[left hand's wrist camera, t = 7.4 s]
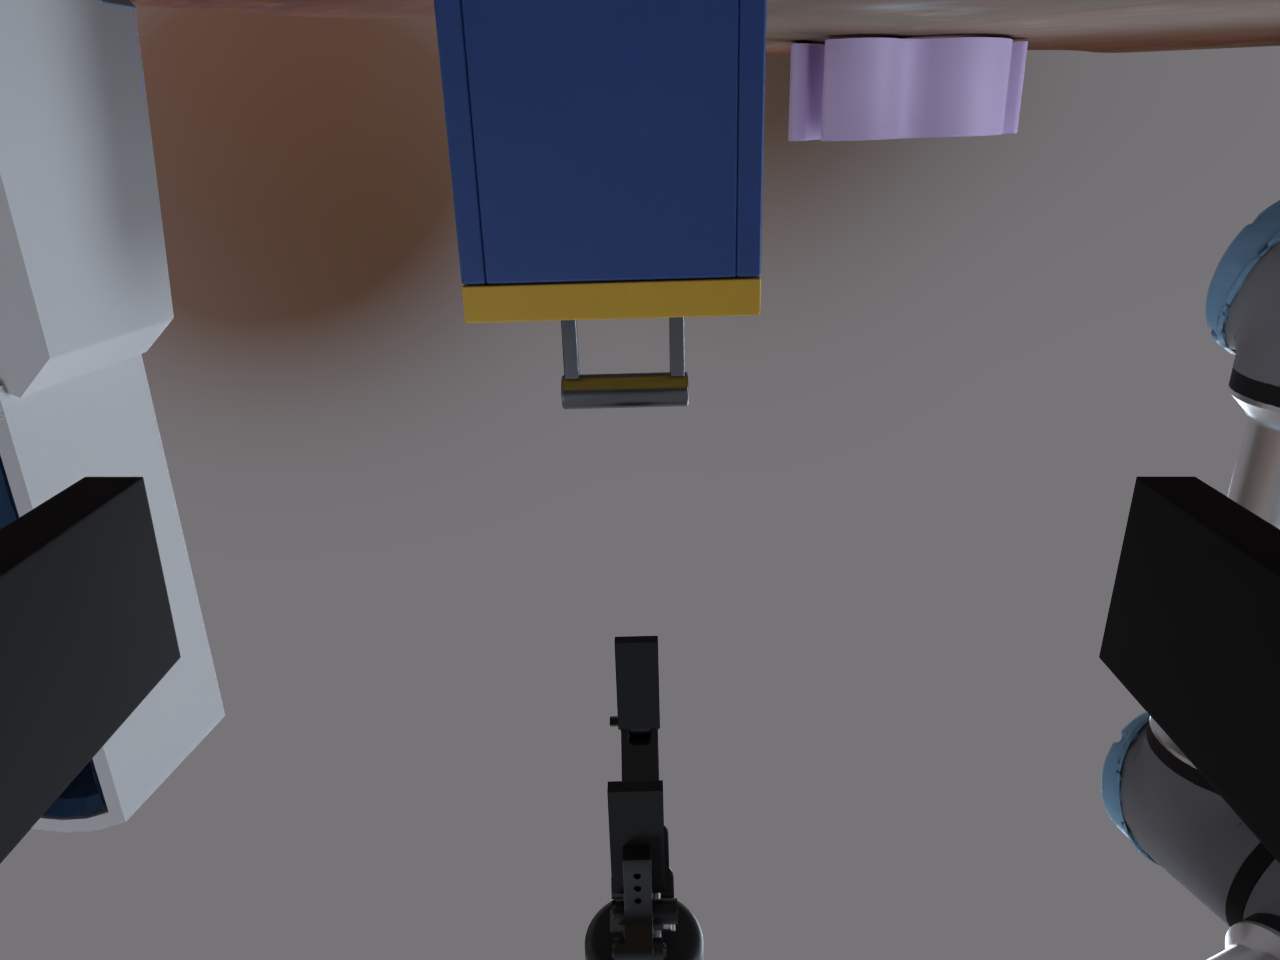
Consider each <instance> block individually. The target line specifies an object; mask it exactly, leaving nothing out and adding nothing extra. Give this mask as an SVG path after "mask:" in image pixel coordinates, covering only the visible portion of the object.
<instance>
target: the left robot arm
mask: <svg viewBox="0 0 1280 960" xmlns="http://www.w3.org/2000/svg"><path fill="white" fill-rule="evenodd" d="M1099 657H1100V659H1101V660H1102V661H1103V662H1104V663H1105V664H1106V666H1107V667H1108V668H1109V669H1110V670H1111V671H1112V672H1113V674H1114V675H1115V676H1116V677H1117V678H1118V679H1119V680H1120V682H1121V683H1122V684H1123V685H1124V686H1125V687H1126V688H1127V689H1128V691H1129V692H1130V693H1131V694H1132V695H1133V696H1134V698H1135V699H1136V700H1137V701H1138V702H1139V703H1140V704H1141V706H1142V707H1143V708H1144V709H1145V710H1146V711H1147V712H1148V714H1149V715H1150V716H1151V717H1152V718H1153V719H1154V720H1155V722H1156V723H1157V724H1158V725H1159V726H1160V727H1161V728H1162V730H1163V731H1164V732H1165V733H1166V734H1167V735H1168V736H1169V738H1170V739H1171V740H1172V741H1173V742H1174V743H1175V744H1176V746H1177V747H1178V748H1179V749H1180V750H1181V751H1182V752H1183V754H1184V755H1185V756H1186V757H1187V758H1188V759H1189V760H1190V762H1191V763H1192V764H1193V765H1194V766H1195V767H1196V768H1197V770H1198V771H1199V772H1200V773H1201V774H1202V775H1203V776H1204V778H1205V779H1206V780H1207V781H1208V782H1209V783H1210V784H1211V786H1212V787H1213V788H1214V789H1215V790H1216V791H1217V792H1218V794H1219V795H1220V796H1221V797H1222V798H1223V799H1224V800H1225V802H1226V803H1227V804H1228V805H1229V806H1230V807H1231V808H1232V810H1233V811H1234V812H1235V813H1236V814H1237V815H1238V816H1239V818H1240V819H1241V820H1242V821H1243V822H1244V823H1245V824H1246V826H1247V827H1248V828H1249V829H1250V830H1251V831H1252V832H1253V834H1254V835H1255V836H1256V837H1257V838H1258V839H1259V840H1260V842H1261V843H1262V844H1263V845H1264V846H1265V847H1266V848H1267V850H1268V851H1269V852H1270V853H1271V854H1272V855H1273V856H1274V858H1275V859H1276V860H1277V861H1278V862H1279V863H1280V529H1278V528H1277V527H1275V526H1273V525H1272V524H1270V523H1269V522H1267V521H1265V520H1264V519H1262V518H1260V517H1259V516H1257V515H1256V514H1254V513H1252V512H1251V511H1249V510H1248V509H1246V508H1244V507H1243V506H1241V505H1240V504H1238V503H1236V502H1235V501H1233V500H1231V499H1230V498H1228V497H1227V496H1225V495H1223V494H1222V493H1220V492H1219V491H1217V490H1215V489H1214V488H1212V487H1210V486H1209V485H1207V484H1206V483H1204V482H1202V481H1201V480H1199V479H1198V478H1196V477H1137V478H1136V483H1135V488H1134V493H1133V498H1132V503H1131V507H1130V512H1129V517H1128V522H1127V527H1126V531H1125V536H1124V541H1123V546H1122V551H1121V555H1120V560H1119V565H1118V570H1117V574H1116V579H1115V584H1114V589H1113V593H1112V598H1111V603H1110V608H1109V613H1108V618H1107V623H1106V627H1105V632H1104V637H1103V641H1102V646H1101V651H1100V656H1099ZM180 658H181V656H180V651H179V646H178V641H177V637H176V632H175V627H174V622H173V617H172V613H171V608H170V603H169V598H168V593H167V589H166V584H165V579H164V574H163V570H162V565H161V560H160V555H159V550H158V546H157V541H156V536H155V531H154V526H153V522H152V517H151V512H150V507H149V502H148V498H147V493H146V488H145V483H144V478H143V477H84V478H82V479H81V480H79V481H78V482H76V483H74V484H73V485H71V486H69V487H68V488H66V489H65V490H63V491H61V492H60V493H58V494H57V495H55V496H53V497H52V498H50V499H49V500H47V501H45V502H44V503H42V504H40V505H39V506H37V507H36V508H34V509H32V510H31V511H29V512H28V513H26V514H24V515H23V516H21V517H20V518H18V519H16V520H15V521H13V522H11V523H10V524H8V525H7V526H5V527H3V528H2V529H0V863H1V862H2V861H3V860H4V859H5V858H6V856H7V855H8V854H9V853H10V852H11V851H12V850H13V848H14V847H15V846H16V845H17V844H18V843H19V842H20V840H21V839H22V838H23V837H24V836H25V835H26V833H27V832H28V831H29V830H30V829H31V828H32V827H33V826H34V824H35V823H36V822H37V821H38V820H39V819H40V818H41V816H42V815H43V814H44V813H45V812H46V811H47V810H48V808H49V807H50V806H51V805H52V804H53V803H54V802H55V800H56V799H57V798H58V797H59V796H60V795H61V794H62V792H63V791H64V790H65V789H66V788H67V787H68V786H69V784H70V783H71V782H72V781H73V780H74V779H75V778H76V776H77V775H78V774H79V773H80V772H81V771H82V770H83V768H84V767H85V766H86V765H87V764H88V763H89V762H90V760H91V759H92V758H93V757H94V756H95V755H96V754H97V752H98V751H99V750H100V749H101V748H102V747H103V746H104V744H105V743H106V742H107V741H108V740H109V739H110V738H111V736H112V735H113V734H114V733H115V732H116V731H117V730H118V728H119V727H120V726H121V725H122V724H123V723H124V722H125V720H126V719H127V718H128V717H129V716H130V715H131V714H132V712H133V711H134V710H135V709H136V708H137V707H138V706H139V704H140V703H141V702H142V701H143V700H144V699H145V698H146V696H147V695H148V694H149V693H150V692H151V691H152V690H153V688H154V687H155V686H156V685H157V684H158V683H159V682H160V680H161V679H162V678H163V677H164V676H165V675H166V674H167V672H168V671H169V670H170V669H171V668H172V667H173V666H174V664H175V663H176V662H177V661H178V660H179V659H180Z"/></svg>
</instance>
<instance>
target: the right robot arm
mask: <svg viewBox="0 0 1280 960" xmlns="http://www.w3.org/2000/svg"><path fill="white" fill-rule="evenodd" d="M1206 321H1207V325H1208V326H1209V327H1210V328H1212V329H1213V330H1212V332H1211V334H1212V337H1213V338H1214V340H1215V341H1216V342H1217V343H1218V344H1219V345H1220V346H1222V347H1223V348H1225V349H1226V350H1227V351H1228V352H1229V353H1232V354H1235V355H1236V356H1235V360H1234V364H1233V369H1232V374H1231V378H1230V382H1229V386H1228V390H1229V392H1230V393H1231V395H1232V396H1233V397H1234V398H1235V400H1236V401H1237V402H1238V403H1239V404H1240V406H1241V407H1242V408H1243V409H1244V411H1245V413H1246V415H1247V419H1246V423H1245V427H1244V431H1243V435H1242V439H1241V443H1240V447H1239V451H1238V455H1237V459H1236V463H1235V467H1234V471H1233V475H1232V479H1231V483H1230V487H1229V491H1228V495H1227V497H1228V498H1230V499H1231V500H1233V501H1235V502H1236V503H1238V504H1240V505H1241V506H1243V507H1244V508H1246V509H1248V510H1249V511H1251V512H1252V513H1254V514H1256V515H1257V516H1259V517H1260V518H1262V519H1264V520H1265V521H1267V522H1269V523H1270V524H1272V525H1273V526H1275V527H1277V528H1278V529H1280V201H1278V202H1276V203H1274V204H1272V205H1271V206H1269V207H1268V208H1267V209H1265V210H1264V211H1263V212H1262V213H1260V214H1259V215H1258V216H1257V218H1256V219H1255V220H1254V222H1253V223H1252V224H1249V225H1247V226H1246V227H1244V228H1243V229H1242V231H1241V232H1240V233H1239V234H1238V235H1237V236H1236V238H1235V239H1234V240H1233V242H1232V243H1231V244H1230V246H1229V247H1228V249H1227V250H1226V252H1225V253H1224V255H1223V257H1222V258H1221V260H1220V262H1219V264H1218V266H1217V268H1216V270H1215V273H1214V275H1213V277H1212V280H1211V283H1210V286H1209V290H1208V294H1207V300H1206ZM615 661H616V684H617V707H618V716H611V717H610V726H618V729H620V730H621V744H622V781H617V782H608V811H609V831H610V851H611V871H612V877H611V883H612V899H615V900H613V901H611V902H610V903H608V904H607V905H605V906H604V907H603V908H602V909H601V910H600V911H599V912H598V913H597V914H596V915H595V917H594V918H593V920H592V921H591V923H590V925H589V927H588V930H587V933H586V938H585V958H586V960H703V935H702V931H701V928H700V925H699V923H698V921H697V919H696V918H695V916H694V915H693V914H692V912H691V911H690V910H689V909H688V908H687V907H686V906H684V905H683V904H682V903H680V902H679V901H677V898H674V882H673V872H672V870H671V868H670V867H669V846H668V830H667V828H666V826H664V819H663V781H659V761H658V729H659V728H660V715H659V673H658V636H634V637H615ZM1121 733H1122V739H1121V740H1120V741H1119V742H1113V744H1112V746H1111V747H1110V749H1109V751H1108V754H1107V756H1106V759H1105V762H1104V766H1103V770H1102V777H1101V792H1102V798H1103V802H1104V806H1105V808H1106V811H1107V813H1108V815H1109V816H1110V818H1111V820H1112V821H1113V822H1114V824H1115V825H1116V826H1117V827H1118V828H1119V829H1120V830H1121V831H1122V832H1123V833H1124V834H1125V835H1126V836H1127V837H1128V838H1129V839H1130V841H1131V842H1132V843H1133V845H1134V846H1135V847H1136V849H1137V850H1138V851H1140V852H1141V853H1142V854H1143V855H1144V856H1145V857H1146V858H1148V859H1149V860H1151V861H1153V862H1154V863H1156V864H1158V865H1160V866H1162V867H1163V868H1164V869H1165V870H1166V871H1167V872H1168V873H1169V874H1171V875H1172V876H1173V877H1174V878H1175V879H1176V880H1177V881H1179V882H1180V883H1181V884H1182V885H1183V886H1184V887H1185V888H1186V889H1188V890H1189V891H1190V892H1191V893H1192V894H1193V895H1194V896H1195V897H1197V898H1198V899H1199V900H1200V901H1201V902H1202V903H1203V904H1205V905H1206V906H1207V907H1208V908H1209V909H1210V910H1211V911H1212V912H1214V913H1215V914H1216V915H1217V916H1218V917H1219V918H1220V919H1221V920H1222V921H1223V922H1225V923H1226V924H1227V925H1228V926H1229V927H1230V928H1229V930H1228V931H1227V934H1226V938H1225V950H1224V951H1222V952H1221V953H1219V954H1217V955H1215V956H1213V957H1211V958H1209V959H1207V960H1280V863H1279V862H1278V861H1277V860H1276V859H1275V858H1274V856H1273V855H1272V854H1271V853H1270V852H1269V851H1268V850H1267V848H1266V847H1265V846H1264V845H1263V844H1262V843H1261V842H1260V840H1259V839H1258V838H1257V837H1256V836H1255V835H1254V834H1253V832H1252V831H1251V830H1250V829H1249V828H1248V827H1247V826H1246V824H1245V823H1244V822H1243V821H1242V820H1241V819H1240V818H1239V816H1238V815H1237V814H1236V813H1235V812H1234V811H1233V810H1232V808H1231V807H1230V806H1229V805H1228V804H1227V803H1226V802H1225V800H1224V799H1223V798H1222V797H1221V796H1220V795H1219V794H1218V792H1217V791H1216V790H1215V789H1214V788H1213V787H1212V786H1211V784H1210V783H1209V782H1208V781H1207V780H1206V779H1205V778H1204V776H1203V775H1202V774H1201V773H1200V772H1199V771H1198V770H1197V768H1196V767H1195V766H1194V765H1193V764H1192V763H1191V762H1190V760H1189V759H1188V758H1187V757H1186V756H1185V755H1184V754H1183V752H1182V751H1181V750H1180V749H1179V748H1178V747H1177V746H1176V744H1175V743H1174V742H1173V741H1172V740H1171V739H1170V738H1169V736H1168V735H1167V734H1166V733H1165V732H1164V731H1163V730H1162V728H1161V727H1160V726H1159V725H1158V724H1157V723H1156V722H1155V720H1154V719H1153V718H1152V717H1151V716H1150V715H1149V714H1148V712H1144V713H1143V714H1141V715H1139V716H1138V717H1136V718H1135V719H1134V720H1132V721H1131V722H1130V723H1129V724H1128V725H1127V726H1126V727H1125V728H1124V729H1123V730H1122V731H1121Z"/></svg>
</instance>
